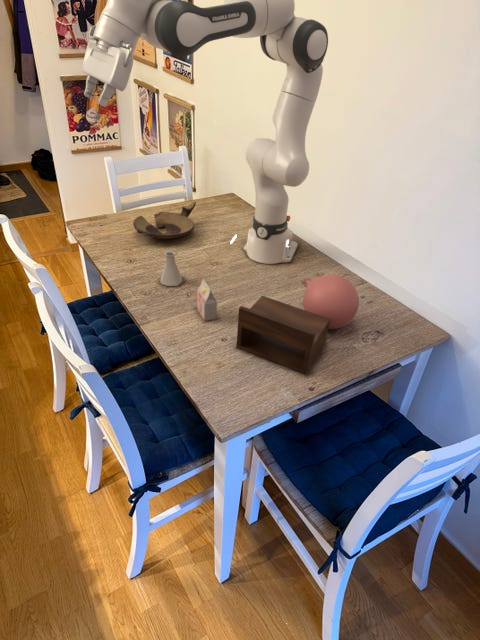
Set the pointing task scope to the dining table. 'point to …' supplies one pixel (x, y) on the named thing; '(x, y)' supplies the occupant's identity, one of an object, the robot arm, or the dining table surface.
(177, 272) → the flask
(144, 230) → the broken brown bowl
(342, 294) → the balloon
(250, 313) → the rack
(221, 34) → the robot arm
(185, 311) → the dining table surface
